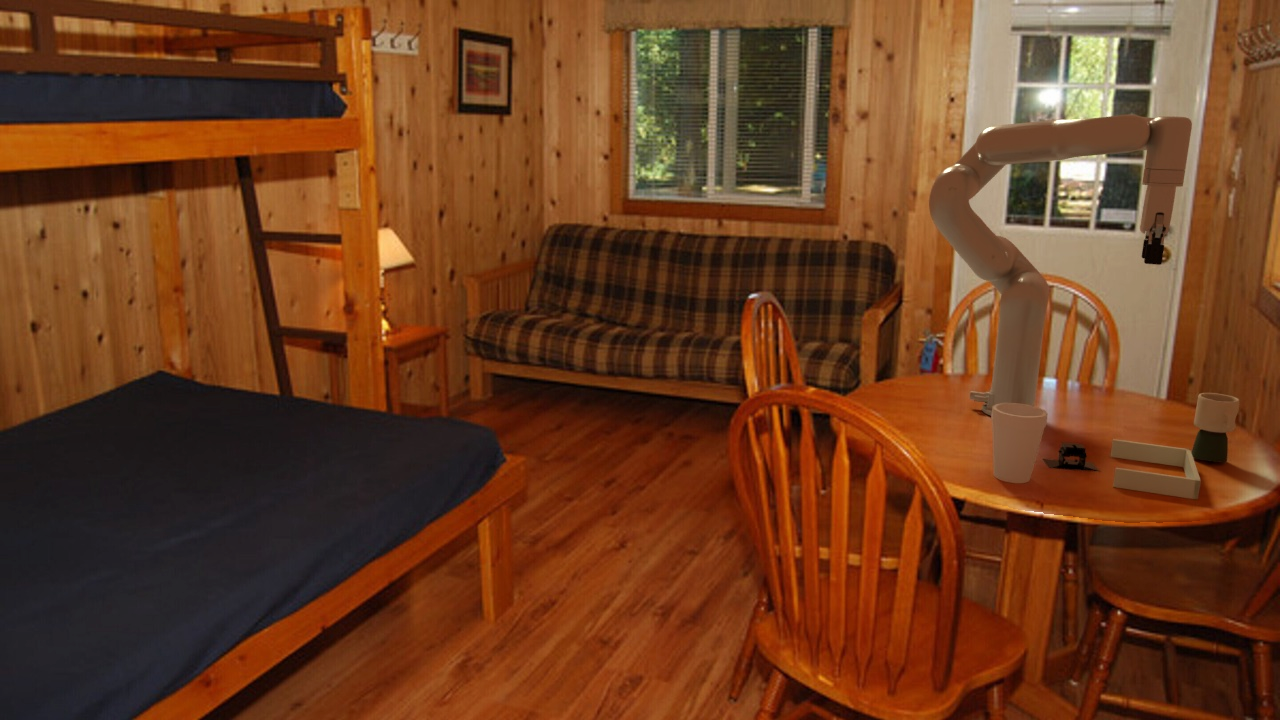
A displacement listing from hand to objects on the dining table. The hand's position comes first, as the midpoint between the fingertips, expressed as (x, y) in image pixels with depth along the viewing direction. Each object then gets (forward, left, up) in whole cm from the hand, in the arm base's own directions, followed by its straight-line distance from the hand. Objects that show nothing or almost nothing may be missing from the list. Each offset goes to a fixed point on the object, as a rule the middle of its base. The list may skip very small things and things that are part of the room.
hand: (1151, 261), depth 208 cm
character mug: (+14, -16, -37) cm, 43 cm away
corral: (+3, -32, -37) cm, 49 cm away
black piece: (-11, -32, -38) cm, 50 cm away
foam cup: (-21, -45, -37) cm, 62 cm away
